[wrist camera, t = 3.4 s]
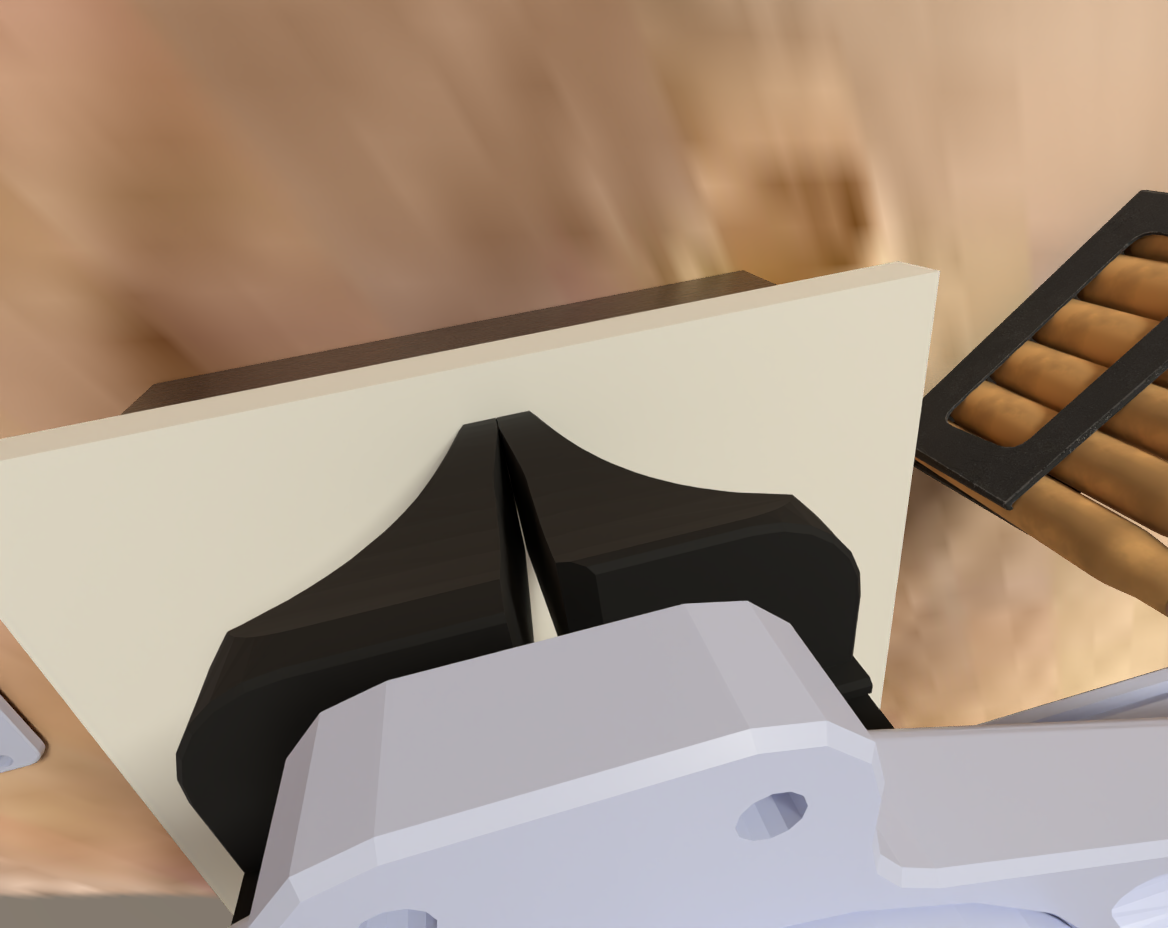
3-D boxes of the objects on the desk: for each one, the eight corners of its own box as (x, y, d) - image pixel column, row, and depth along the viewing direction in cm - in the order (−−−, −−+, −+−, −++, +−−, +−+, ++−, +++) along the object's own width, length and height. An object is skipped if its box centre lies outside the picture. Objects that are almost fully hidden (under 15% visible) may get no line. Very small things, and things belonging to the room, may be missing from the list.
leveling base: (336, 735, 22) (315, 875, 18) (153, 384, 16) (51, 478, 11) (743, 625, 25) (809, 726, 20) (743, 270, 18) (842, 313, 13)
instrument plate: (289, 928, 18) (241, 1187, 14) (-53, 449, 10) (-424, 676, 6) (846, 756, 20) (965, 928, 16) (898, 261, 13) (1155, 320, 8)
